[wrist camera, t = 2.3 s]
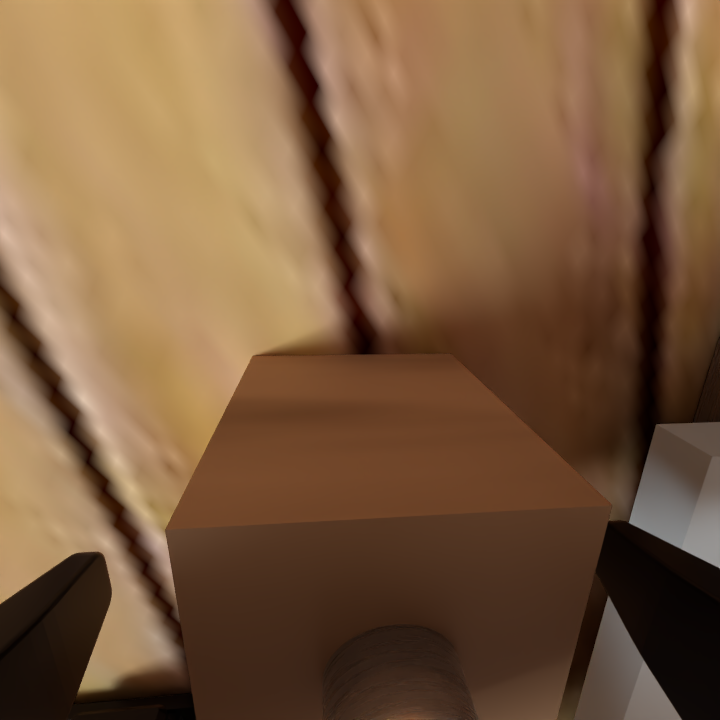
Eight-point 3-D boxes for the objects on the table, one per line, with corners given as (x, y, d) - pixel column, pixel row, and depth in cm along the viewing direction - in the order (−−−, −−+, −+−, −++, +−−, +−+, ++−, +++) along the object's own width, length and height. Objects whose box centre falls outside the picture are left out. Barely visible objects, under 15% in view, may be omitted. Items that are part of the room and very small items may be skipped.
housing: (435, 513, 12) (641, 1010, 4) (264, 522, 11) (159, 1105, 4) (450, 352, 10) (813, 693, 3) (253, 355, 10) (37, 781, 2)
